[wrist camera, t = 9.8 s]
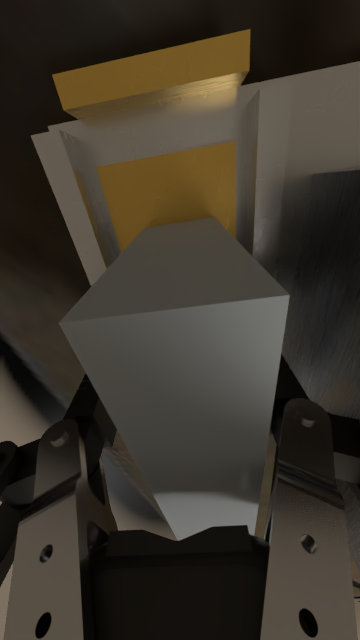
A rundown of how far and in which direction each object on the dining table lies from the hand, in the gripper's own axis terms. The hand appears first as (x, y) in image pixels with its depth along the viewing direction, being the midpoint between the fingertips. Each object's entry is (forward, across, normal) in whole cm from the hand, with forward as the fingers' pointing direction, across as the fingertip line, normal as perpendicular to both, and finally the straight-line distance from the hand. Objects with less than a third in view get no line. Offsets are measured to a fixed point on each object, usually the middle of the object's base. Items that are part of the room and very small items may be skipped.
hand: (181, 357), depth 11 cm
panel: (+2, -1, 0) cm, 3 cm away
